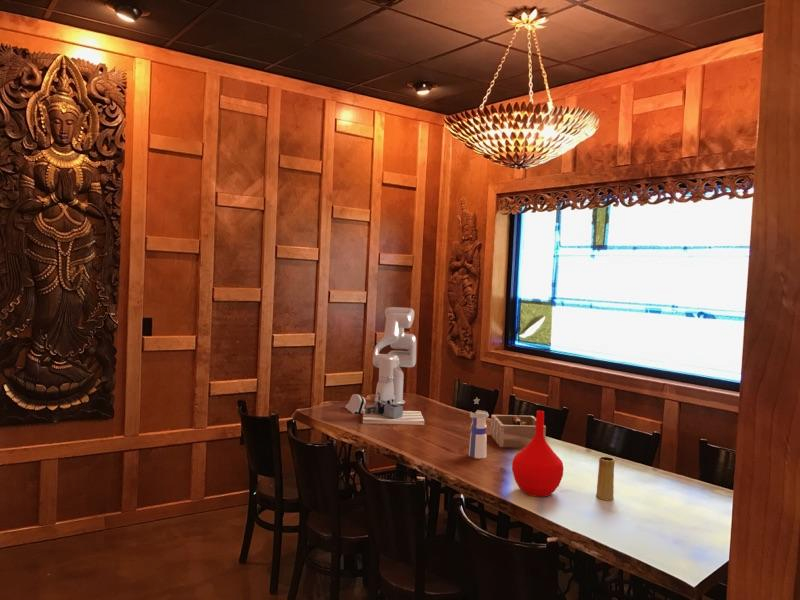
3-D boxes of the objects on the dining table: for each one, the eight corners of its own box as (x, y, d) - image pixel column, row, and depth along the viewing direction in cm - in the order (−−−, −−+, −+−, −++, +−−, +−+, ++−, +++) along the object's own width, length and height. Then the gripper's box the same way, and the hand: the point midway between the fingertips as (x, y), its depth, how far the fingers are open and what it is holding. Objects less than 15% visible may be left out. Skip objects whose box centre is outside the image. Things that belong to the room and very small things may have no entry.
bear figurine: (513, 446, 288) (514, 420, 287) (502, 437, 302) (503, 413, 302) (540, 445, 290) (542, 420, 290) (528, 437, 305) (529, 412, 304)
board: (363, 413, 341) (363, 409, 341) (420, 414, 343) (420, 411, 343) (362, 423, 318) (362, 419, 318) (424, 424, 320) (424, 421, 320)
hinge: (344, 407, 354) (351, 391, 355) (352, 409, 356) (358, 393, 357) (353, 413, 339) (360, 396, 340) (361, 416, 341) (367, 399, 342)
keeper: (363, 416, 334) (363, 406, 333) (374, 414, 340) (374, 404, 340) (367, 417, 331) (368, 408, 331) (379, 415, 338) (379, 405, 338)
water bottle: (463, 455, 269) (465, 398, 268) (476, 452, 274) (479, 396, 273) (477, 459, 262) (479, 401, 262) (490, 456, 268) (493, 399, 267)
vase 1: (538, 505, 212) (543, 419, 211) (500, 488, 227) (504, 408, 226) (572, 495, 223) (577, 414, 222) (534, 480, 238) (538, 404, 237)
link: (365, 412, 335) (366, 401, 335) (374, 410, 340) (375, 399, 340) (393, 419, 321) (394, 407, 321) (402, 417, 327) (403, 406, 326)
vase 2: (616, 500, 220) (618, 461, 219) (600, 500, 219) (602, 461, 219) (609, 494, 226) (611, 456, 225) (593, 494, 225) (595, 456, 225)
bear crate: (490, 434, 306) (491, 414, 306) (532, 435, 307) (533, 415, 307) (500, 447, 284) (501, 425, 284) (544, 448, 285) (545, 426, 285)
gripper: (391, 376, 339) (390, 409, 339) (369, 380, 326) (368, 413, 327) (401, 378, 334) (400, 411, 334) (379, 382, 321) (378, 416, 322)
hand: (384, 412), depth 331 cm, fingers open, 5 cm apart
